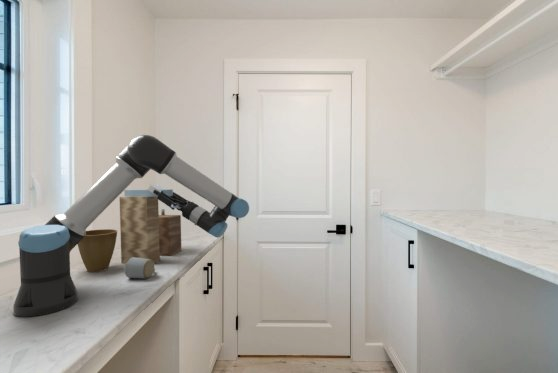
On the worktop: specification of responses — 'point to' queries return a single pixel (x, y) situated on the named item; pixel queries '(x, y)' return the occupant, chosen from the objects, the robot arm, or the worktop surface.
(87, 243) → the plant pot
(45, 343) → the worktop surface
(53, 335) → the worktop surface
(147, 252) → the stand
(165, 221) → the wooden block with pegs
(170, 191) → the blue-grey block
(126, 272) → the grey short cylinder
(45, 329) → the worktop surface
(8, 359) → the worktop surface
